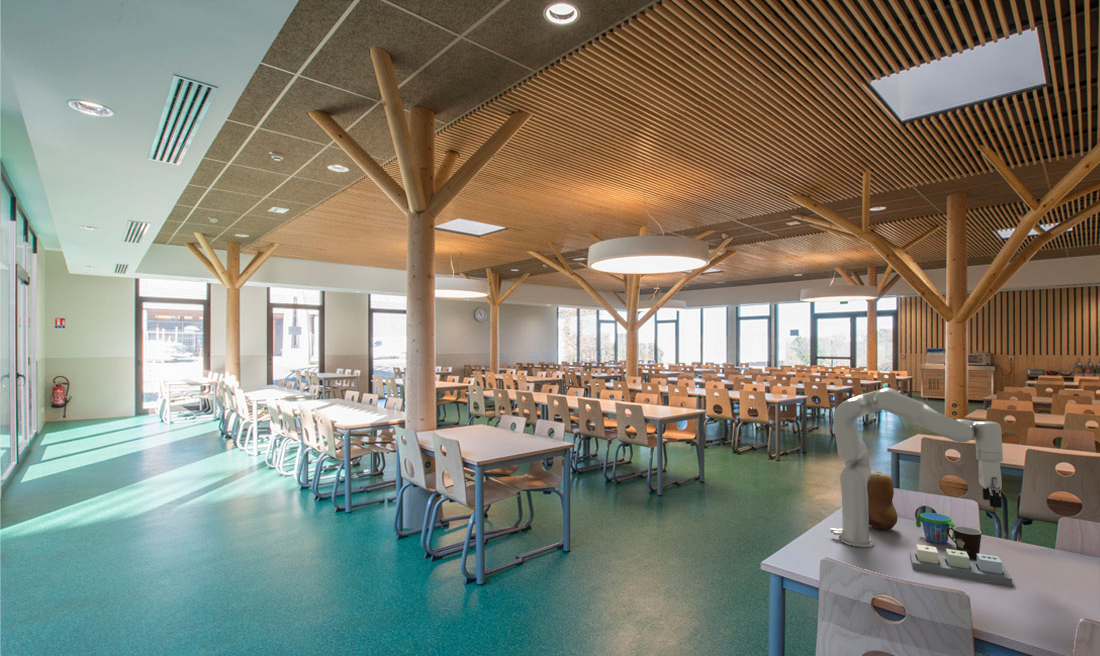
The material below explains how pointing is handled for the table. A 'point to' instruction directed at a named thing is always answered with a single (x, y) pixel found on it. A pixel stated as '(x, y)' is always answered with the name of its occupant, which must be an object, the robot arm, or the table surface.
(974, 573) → the board
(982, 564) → the tile
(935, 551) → the tile
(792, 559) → the table surface
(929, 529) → the snack cup
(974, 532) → the coffee mug
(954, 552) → the two-dot tile
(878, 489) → the butternut squash
